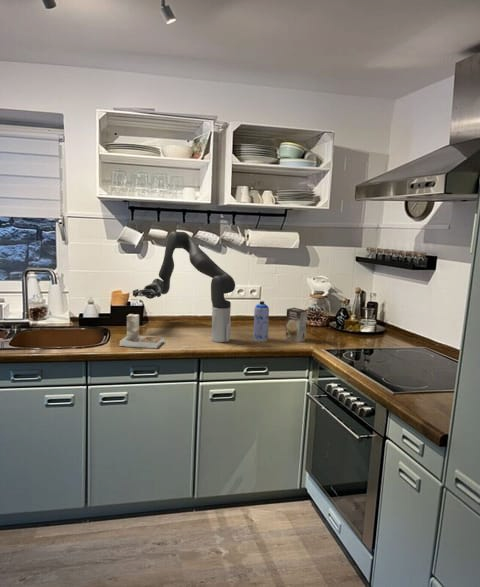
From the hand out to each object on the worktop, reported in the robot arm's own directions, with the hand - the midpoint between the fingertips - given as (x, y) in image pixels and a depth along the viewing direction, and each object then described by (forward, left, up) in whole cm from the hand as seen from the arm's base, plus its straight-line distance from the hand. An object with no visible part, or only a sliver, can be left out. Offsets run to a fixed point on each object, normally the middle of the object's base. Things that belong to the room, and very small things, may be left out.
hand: (143, 295), depth 236 cm
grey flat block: (-5, +16, -21) cm, 27 cm away
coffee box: (-79, -11, -21) cm, 82 cm away
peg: (0, +16, -21) cm, 26 cm away
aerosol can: (-61, -7, -21) cm, 65 cm away
